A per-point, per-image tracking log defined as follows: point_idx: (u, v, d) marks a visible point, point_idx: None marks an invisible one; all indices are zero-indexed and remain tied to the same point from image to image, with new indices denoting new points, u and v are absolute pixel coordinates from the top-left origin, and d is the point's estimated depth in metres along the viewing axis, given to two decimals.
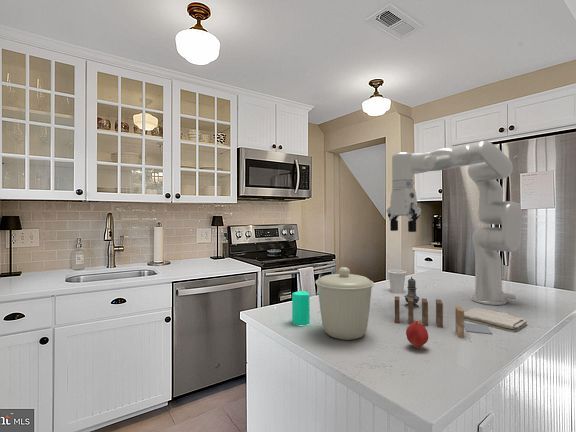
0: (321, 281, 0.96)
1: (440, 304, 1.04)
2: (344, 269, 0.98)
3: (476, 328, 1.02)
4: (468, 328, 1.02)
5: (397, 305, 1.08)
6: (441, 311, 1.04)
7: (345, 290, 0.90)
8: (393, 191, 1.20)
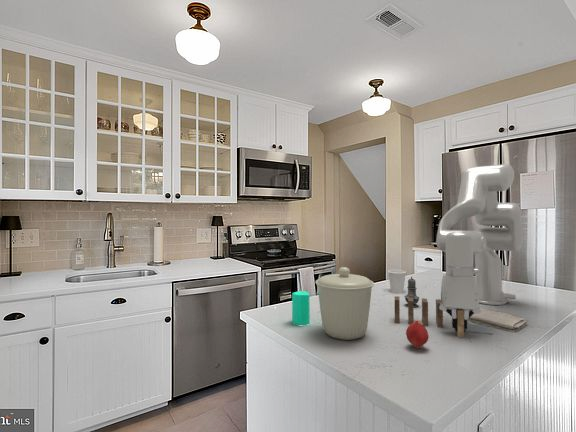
0: (321, 281, 0.96)
1: None
2: (344, 269, 0.98)
3: (476, 328, 1.02)
4: (468, 328, 1.02)
5: (397, 305, 1.08)
6: (441, 311, 1.04)
7: (345, 290, 0.90)
8: (452, 279, 0.96)
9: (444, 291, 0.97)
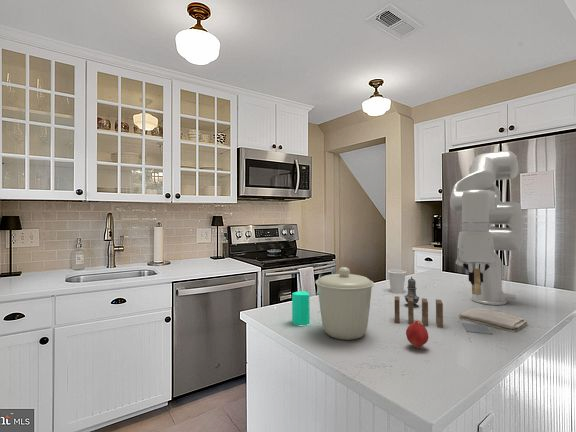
0: (321, 281, 0.96)
1: (440, 304, 1.04)
2: (344, 269, 0.98)
3: (476, 328, 1.02)
4: (468, 328, 1.02)
5: (397, 305, 1.08)
6: (441, 311, 1.04)
7: (345, 290, 0.90)
8: (468, 234, 1.01)
9: (461, 246, 1.02)
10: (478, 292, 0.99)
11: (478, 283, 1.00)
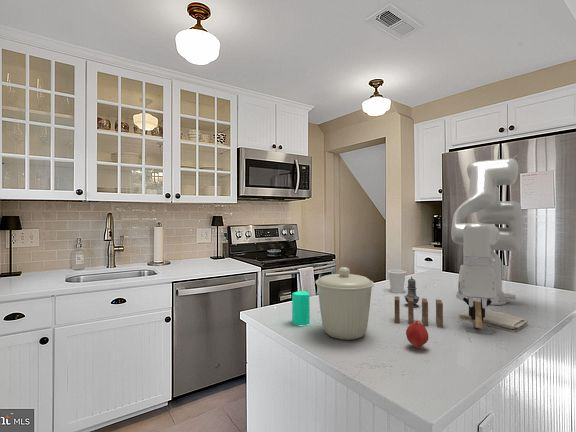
0: (321, 281, 0.96)
1: (440, 304, 1.04)
2: (344, 269, 0.98)
3: (476, 328, 1.02)
4: (468, 328, 1.02)
5: (397, 305, 1.08)
6: (441, 311, 1.04)
7: (345, 290, 0.90)
8: (470, 268, 1.00)
9: (462, 280, 1.01)
10: (479, 326, 0.98)
11: (479, 316, 0.99)
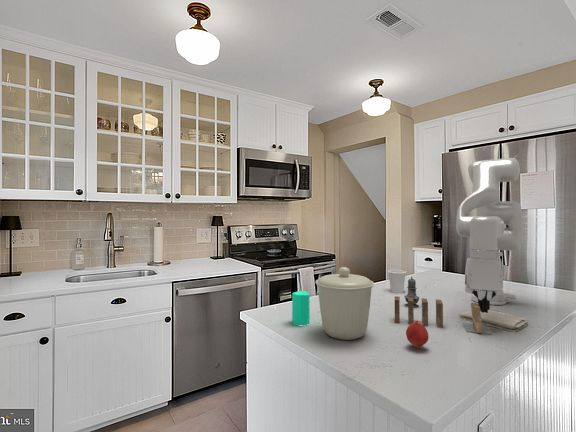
0: (321, 281, 0.96)
1: (440, 304, 1.04)
2: (344, 269, 0.98)
3: None
4: (468, 328, 1.02)
5: (397, 305, 1.08)
6: (441, 311, 1.04)
7: (345, 290, 0.90)
8: (477, 261, 1.00)
9: (469, 273, 1.01)
10: (479, 331, 0.98)
11: (479, 322, 0.98)
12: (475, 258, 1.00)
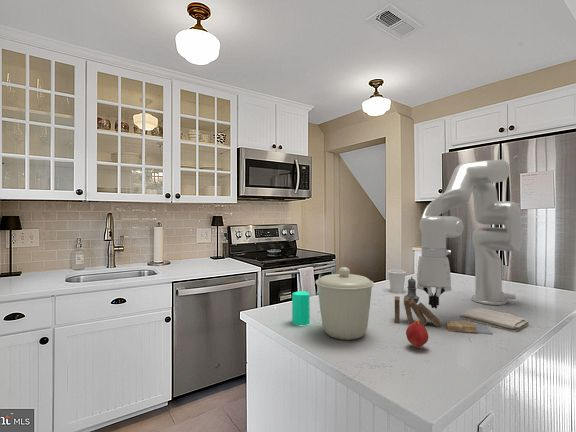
0: (321, 281, 0.96)
1: (420, 308, 1.06)
2: (344, 269, 0.98)
3: (476, 328, 1.02)
4: None
5: (397, 305, 1.08)
6: (426, 312, 1.05)
7: (345, 290, 0.90)
8: (426, 259, 1.05)
9: (420, 271, 1.06)
10: (474, 329, 0.98)
11: (464, 328, 0.99)
12: (425, 256, 1.05)
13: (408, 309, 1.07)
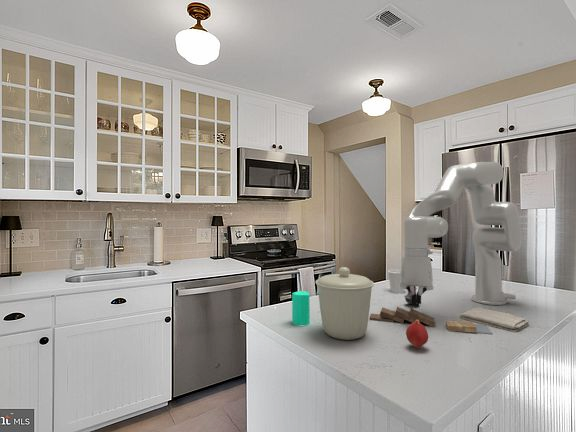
0: (321, 281, 0.96)
1: (411, 314, 1.07)
2: (344, 269, 0.98)
3: (476, 328, 1.02)
4: None
5: (374, 320, 1.11)
6: (418, 316, 1.06)
7: (345, 290, 0.90)
8: (409, 259, 1.07)
9: (402, 270, 1.08)
10: (474, 329, 0.98)
11: (464, 328, 0.99)
12: (407, 256, 1.07)
13: (388, 315, 1.10)
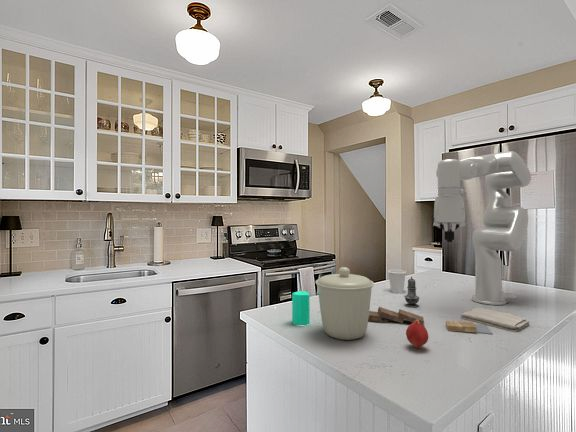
0: (321, 281, 0.96)
1: (400, 315, 1.08)
2: (344, 269, 0.98)
3: (476, 328, 1.02)
4: None
5: None
6: (407, 316, 1.07)
7: (345, 290, 0.90)
8: (442, 198, 1.16)
9: (436, 209, 1.17)
10: (474, 329, 0.98)
11: (464, 328, 0.99)
12: (441, 195, 1.16)
13: None
